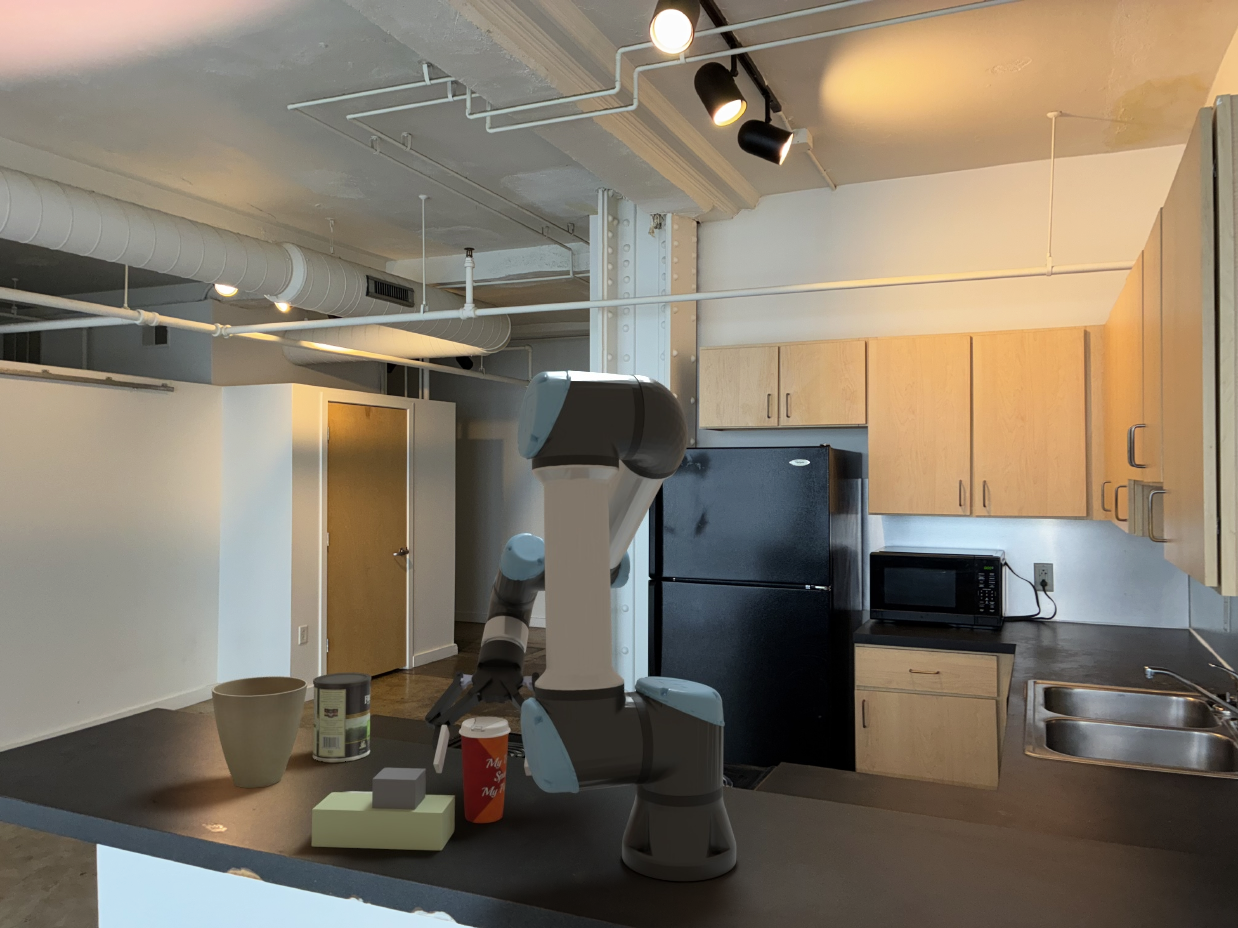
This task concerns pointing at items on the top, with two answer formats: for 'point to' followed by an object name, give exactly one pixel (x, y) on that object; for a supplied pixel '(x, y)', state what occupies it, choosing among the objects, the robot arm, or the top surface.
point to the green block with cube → (386, 815)
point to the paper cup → (484, 767)
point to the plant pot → (258, 726)
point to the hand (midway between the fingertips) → (482, 770)
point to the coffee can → (341, 717)
